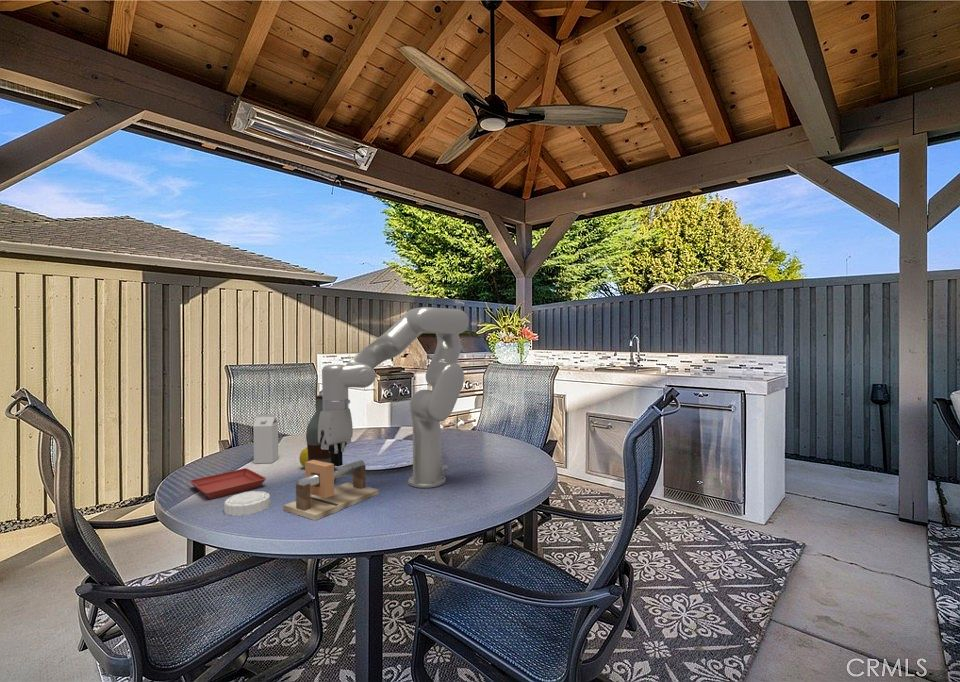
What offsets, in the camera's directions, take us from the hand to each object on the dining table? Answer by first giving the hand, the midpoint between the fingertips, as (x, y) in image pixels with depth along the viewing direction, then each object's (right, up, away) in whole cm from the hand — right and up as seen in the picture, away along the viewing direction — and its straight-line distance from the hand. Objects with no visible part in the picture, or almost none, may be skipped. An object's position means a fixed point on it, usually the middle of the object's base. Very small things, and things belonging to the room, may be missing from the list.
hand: (336, 465), depth 137 cm
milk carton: (-43, -11, +45) cm, 63 cm away
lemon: (-22, -11, +35) cm, 43 cm away
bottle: (-11, -11, +17) cm, 23 cm away
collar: (-3, -7, -5) cm, 9 cm away
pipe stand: (-1, -11, -1) cm, 11 cm away
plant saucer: (-40, -12, +13) cm, 44 cm away
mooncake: (-24, -12, -5) cm, 28 cm away
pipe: (-1, -4, -1) cm, 4 cm away
